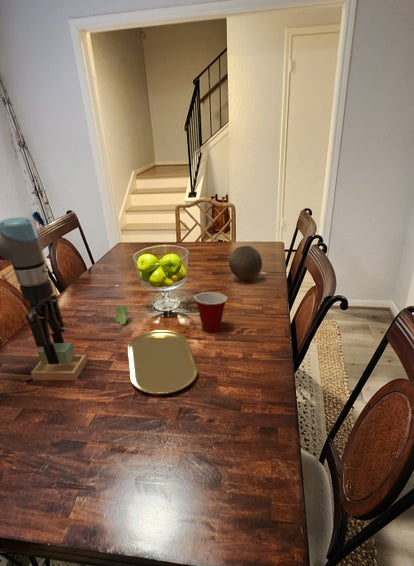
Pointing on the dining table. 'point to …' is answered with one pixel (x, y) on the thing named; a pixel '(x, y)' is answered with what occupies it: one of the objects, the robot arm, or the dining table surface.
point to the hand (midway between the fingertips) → (58, 358)
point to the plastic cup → (210, 310)
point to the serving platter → (161, 362)
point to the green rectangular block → (59, 353)
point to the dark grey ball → (245, 262)
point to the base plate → (60, 369)
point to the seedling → (121, 314)
